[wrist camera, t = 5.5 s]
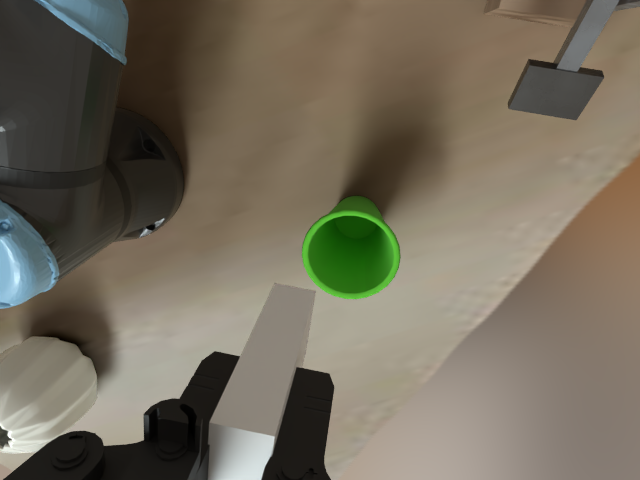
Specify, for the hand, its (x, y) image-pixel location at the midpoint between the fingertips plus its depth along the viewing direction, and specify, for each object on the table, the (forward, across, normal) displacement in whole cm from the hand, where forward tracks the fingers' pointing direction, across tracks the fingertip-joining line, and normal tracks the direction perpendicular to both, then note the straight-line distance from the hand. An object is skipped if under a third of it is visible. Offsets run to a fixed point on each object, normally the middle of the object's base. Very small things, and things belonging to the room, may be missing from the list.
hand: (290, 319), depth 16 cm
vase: (+35, -36, -39) cm, 63 cm away
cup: (+35, +2, -8) cm, 36 cm away
